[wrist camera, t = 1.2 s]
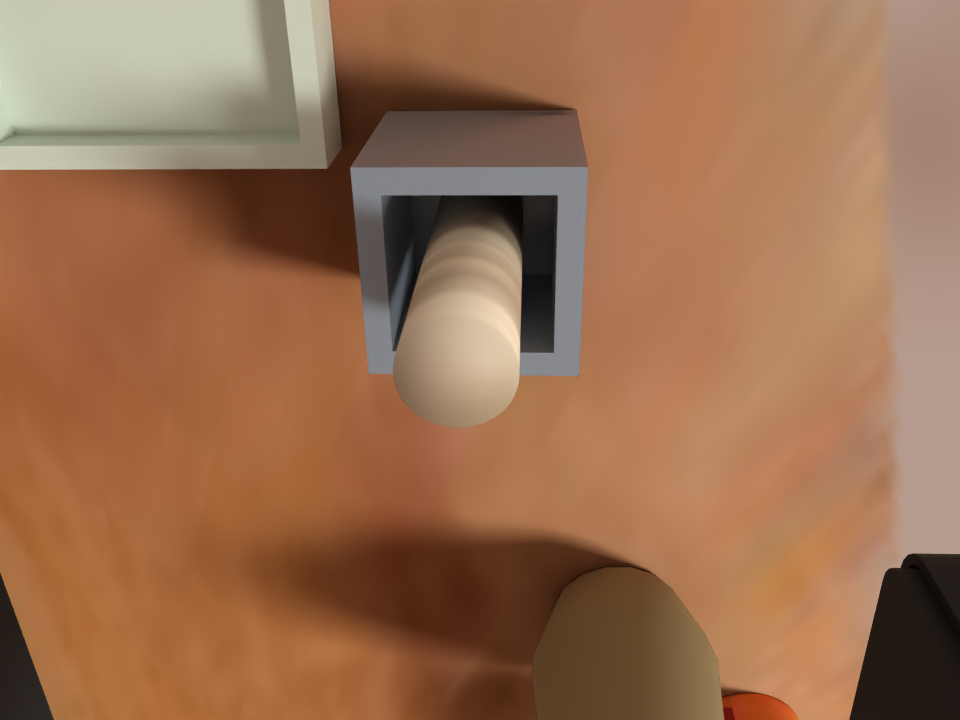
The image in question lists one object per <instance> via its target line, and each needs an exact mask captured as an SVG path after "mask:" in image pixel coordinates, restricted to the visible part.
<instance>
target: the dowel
mask: <svg viewBox="0 0 960 720" xmlns="http://www.w3.org/2000/svg"><path fill="white" fill-rule="evenodd" d="M523 212H524V208H523V200H522V197H521V195H442V197H441V200H440V203H439V207H438V210H437V214H436V217H435V220H434V224H433V227H432V231H431V234H430V238H429V241H428V244H427V248H426V251H425V255H424V258H423V262H422V265H421V268H420V272H419V275H418V279H417V282H416V285H415V289H414V292H413V296H412V299H411V303H410V306H409V309H408V313H407V316H406V320H405V323H404V327H403V330H402V333H401V337H400V340H399V344H398V347H397V350H396V354H395V357H394V362H393V378H394V383H395V386H396V389H397V391H398V393H399V395H400V396H401V398H402V400H403V401H404V402H405V403H406V405H407V406H408V407H409V408H410V409H411V410H412V411H413V412H415V413H416V414H417V415H419V416H420V417H422V418H424V419H426V420H428V421H430V422H432V423H435V424H438V425H442V426H447V427H457V428H459V427H470V426H475V425H479V424H482V423H485V422H487V421H489V420H491V419H493V418H495V417H496V416H497V415H499V414H500V413H501V412H502V411H503V410H504V409H506V407H507V406H508V405H509V404H510V402H511V401H512V399H513V397H514V396H515V393H516V391H517V387H518V383H519V368H520V329H521V290H522V251H523Z"/></svg>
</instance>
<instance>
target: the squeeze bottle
mask: <svg viewBox="0 0 960 720" xmlns="http://www.w3.org/2000/svg"><path fill="white" fill-rule="evenodd" d="M532 675H533V690H534V698H535V706H536V714H537V720H724V714H723V704H722V695H721V686H720V677H719V668H718V659H717V657H716V655H715V653H714V651H713V649H712V647H711V645H710V643H709V640H708V638H707V636H706V634H705V633H704V632H703V630H702V629H701V628H700V626H699V625H698V623H697V622H696V621H695V619H694V618H693V617H692V615H691V614H690V613H689V611H688V610H687V608H686V607H685V606H684V604H683V603H682V602H681V600H680V599H679V598H678V596H677V595H676V593H675V592H674V591H673V589H672V588H671V587H670V586H668V585H667V584H666V583H665V582H663V581H662V580H661V579H659V578H658V577H657V576H656V575H654V574H651V573H648V572H645V571H642V570H638V569H635V568H632V567H605V568H602V569H598V570H595V571H592V572H589V573H586V574H583V575H581V576H580V577H578V578H577V579H576V580H574V581H573V582H572V583H570V584H569V585H568V586H566V587H565V588H564V590H563V591H562V593H561V595H560V597H559V599H558V601H557V602H556V604H555V606H554V609H553V611H552V613H551V616H550V618H549V620H548V623H547V625H546V627H545V630H544V632H543V634H542V637H541V639H540V641H539V643H538V646H537V648H536V650H535V653H534V655H533V657H532Z"/></svg>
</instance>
